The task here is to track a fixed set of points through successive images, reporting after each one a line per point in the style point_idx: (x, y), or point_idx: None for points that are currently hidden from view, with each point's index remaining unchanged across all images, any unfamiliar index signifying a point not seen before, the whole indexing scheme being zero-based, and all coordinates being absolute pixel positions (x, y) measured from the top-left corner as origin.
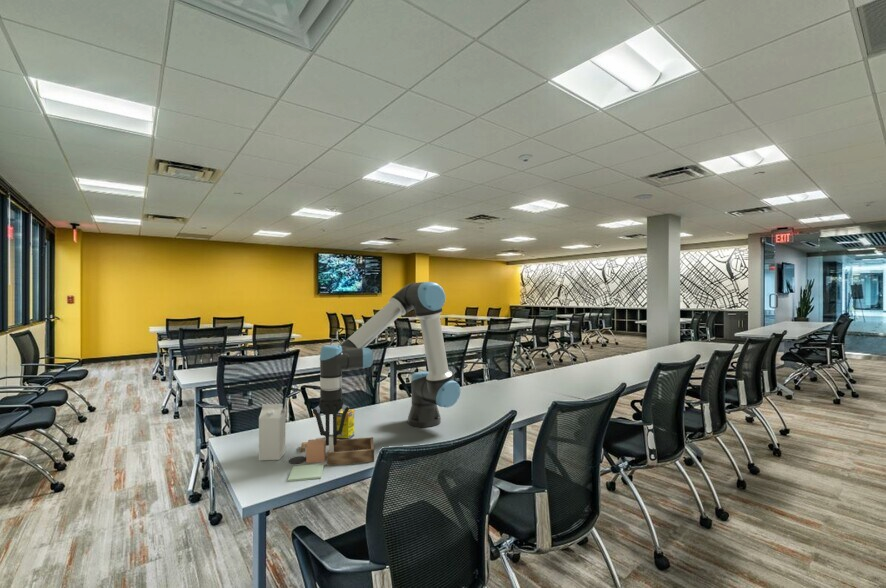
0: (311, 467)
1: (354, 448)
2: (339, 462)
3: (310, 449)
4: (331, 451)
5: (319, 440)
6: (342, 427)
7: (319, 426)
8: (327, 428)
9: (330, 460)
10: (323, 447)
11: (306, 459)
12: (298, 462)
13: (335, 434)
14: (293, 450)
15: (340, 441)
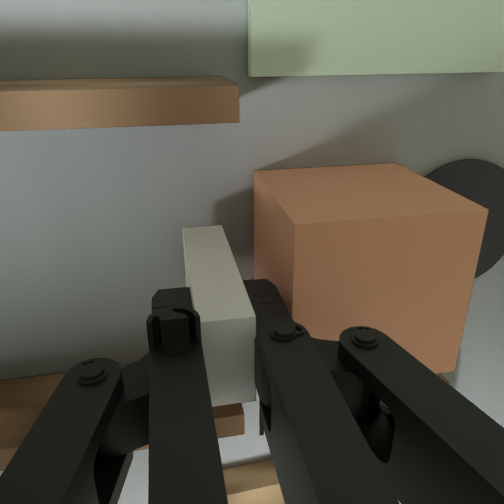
0: (359, 8)
1: (15, 388)
2: (96, 80)
3: (421, 200)
4: (201, 240)
5: None
6: (28, 445)
7: (466, 416)
8: (311, 402)
9: (189, 80)
10: (293, 211)
11: (409, 171)
12: (457, 167)
13: (164, 347)
14: (473, 392)
15: None
